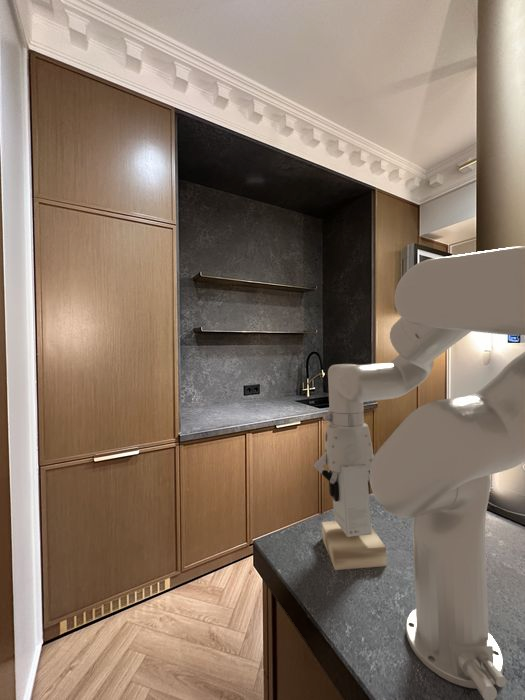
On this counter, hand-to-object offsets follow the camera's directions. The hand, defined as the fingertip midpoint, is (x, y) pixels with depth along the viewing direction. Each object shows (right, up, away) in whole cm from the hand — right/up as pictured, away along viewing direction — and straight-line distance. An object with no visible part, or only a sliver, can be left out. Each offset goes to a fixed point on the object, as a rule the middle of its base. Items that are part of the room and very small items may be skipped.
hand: (349, 496), depth 71 cm
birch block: (+1, -12, 0) cm, 12 cm away
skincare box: (0, -7, 0) cm, 7 cm away
